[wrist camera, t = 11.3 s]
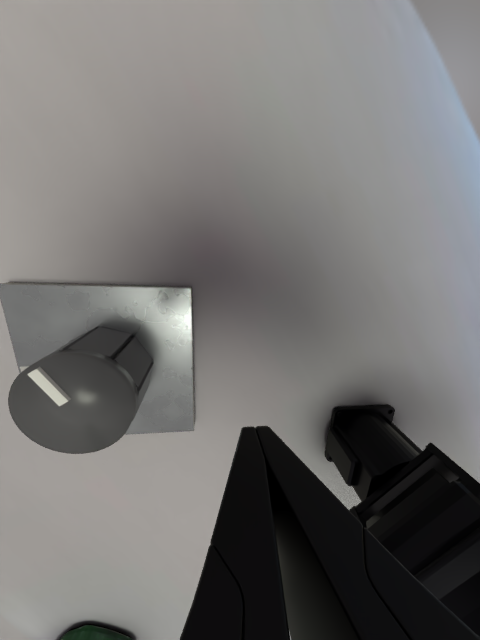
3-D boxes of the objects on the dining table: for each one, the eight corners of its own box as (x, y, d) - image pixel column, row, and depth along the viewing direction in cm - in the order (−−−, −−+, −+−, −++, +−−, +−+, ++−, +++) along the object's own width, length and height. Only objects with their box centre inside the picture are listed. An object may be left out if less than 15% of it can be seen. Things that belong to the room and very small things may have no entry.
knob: (169, 378, 19) (154, 423, 14) (101, 416, 19) (62, 474, 14) (119, 312, 17) (81, 337, 12) (43, 354, 17) (-26, 396, 12)
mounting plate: (192, 286, 18) (184, 298, 13) (194, 423, 22) (189, 469, 17) (9, 282, 16) (-72, 293, 12) (45, 430, 20) (-7, 484, 15)
